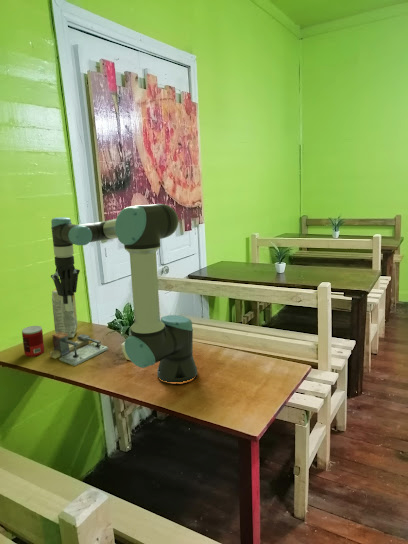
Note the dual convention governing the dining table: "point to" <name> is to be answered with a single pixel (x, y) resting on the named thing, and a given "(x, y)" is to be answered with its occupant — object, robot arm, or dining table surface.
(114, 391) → the dining table surface
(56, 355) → the rail
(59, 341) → the slide leg
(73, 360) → the bolt plate
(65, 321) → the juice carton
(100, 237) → the robot arm
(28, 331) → the canned food
